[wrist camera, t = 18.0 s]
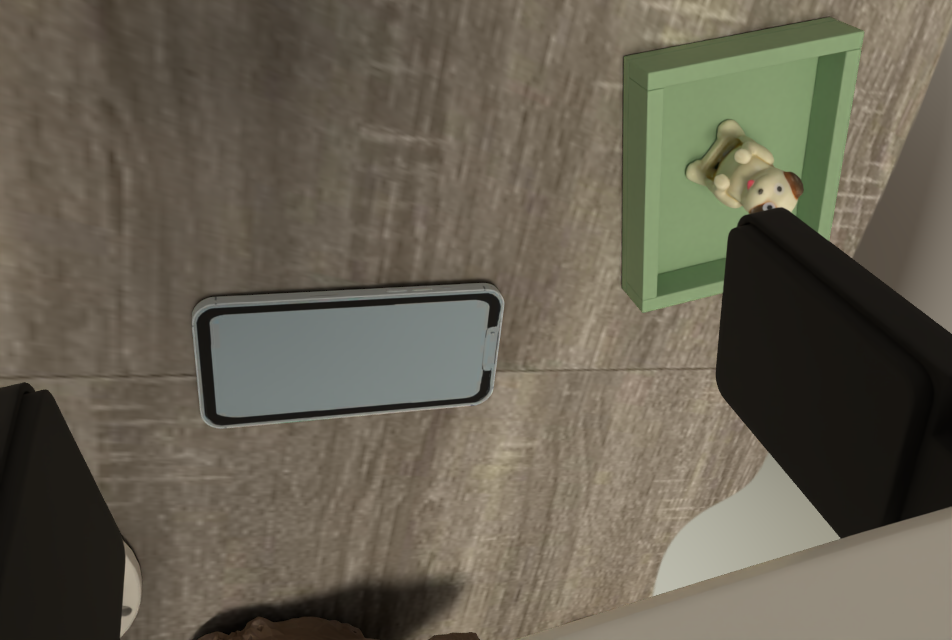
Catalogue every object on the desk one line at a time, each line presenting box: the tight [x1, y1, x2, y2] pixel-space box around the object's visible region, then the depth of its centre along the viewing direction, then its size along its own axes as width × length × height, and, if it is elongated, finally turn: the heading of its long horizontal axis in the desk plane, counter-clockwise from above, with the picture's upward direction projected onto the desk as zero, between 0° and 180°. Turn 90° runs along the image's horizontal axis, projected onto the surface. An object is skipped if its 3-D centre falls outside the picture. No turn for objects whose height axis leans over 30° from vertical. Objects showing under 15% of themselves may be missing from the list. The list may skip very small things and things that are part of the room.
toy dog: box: [686, 119, 804, 214], centre depth 41 cm, size 4×5×5 cm
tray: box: [622, 17, 864, 313], centre depth 42 cm, size 13×11×3 cm
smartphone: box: [192, 283, 504, 429], centre depth 43 cm, size 7×1×15 cm
